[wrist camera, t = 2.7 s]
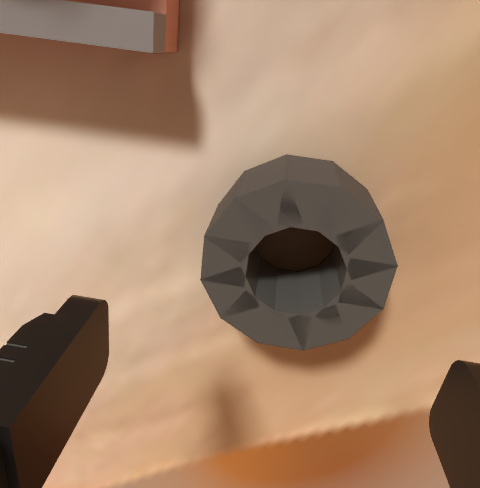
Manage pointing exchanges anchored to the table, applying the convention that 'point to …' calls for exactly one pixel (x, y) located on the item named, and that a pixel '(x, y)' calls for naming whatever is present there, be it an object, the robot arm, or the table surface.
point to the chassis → (96, 22)
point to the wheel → (307, 281)
